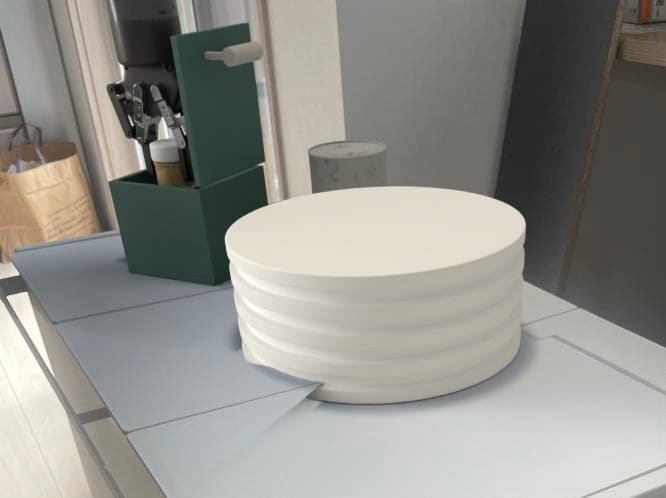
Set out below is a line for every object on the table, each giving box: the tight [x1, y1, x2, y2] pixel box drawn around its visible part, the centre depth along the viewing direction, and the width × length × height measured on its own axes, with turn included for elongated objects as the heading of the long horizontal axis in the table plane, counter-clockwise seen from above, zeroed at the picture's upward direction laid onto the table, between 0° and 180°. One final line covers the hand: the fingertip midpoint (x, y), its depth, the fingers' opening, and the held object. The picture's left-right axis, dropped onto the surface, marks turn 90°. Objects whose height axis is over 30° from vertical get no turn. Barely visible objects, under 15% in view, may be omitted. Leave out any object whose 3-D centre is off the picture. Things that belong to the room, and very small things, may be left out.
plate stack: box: [225, 185, 527, 405], centre depth 82 cm, size 28×28×12 cm
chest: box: [107, 164, 269, 287], centre depth 104 cm, size 14×13×11 cm
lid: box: [170, 22, 266, 187], centre depth 93 cm, size 14×13×5 cm
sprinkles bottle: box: [150, 137, 195, 189], centre depth 104 cm, size 5×5×14 cm
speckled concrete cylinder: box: [307, 139, 388, 194], centre depth 105 cm, size 10×10×12 cm
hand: (174, 177), depth 102 cm, fingers closed on sprinkles bottle, 4 cm apart
